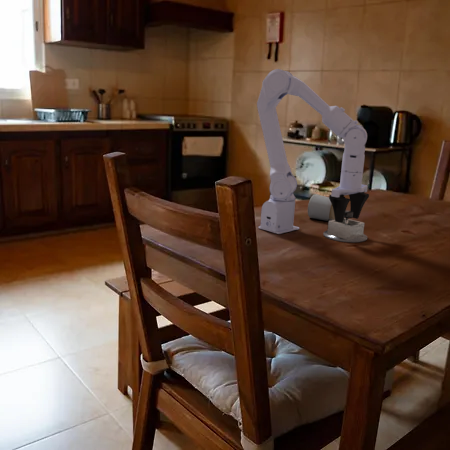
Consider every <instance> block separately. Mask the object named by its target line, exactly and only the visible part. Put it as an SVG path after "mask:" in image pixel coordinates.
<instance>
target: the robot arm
mask: <svg viewBox="0 0 450 450" xmlns="http://www.w3.org/2000/svg"><path fill="white" fill-rule="evenodd" d="M261 84H262V85H261V89H260V92H259V96H258V97H257V98H258V99H257V102H256V108H257V112H258V117H259V122H260V126H261V129H262V135H263V140H264V144H265V148H266V153H267V157H268V158H267V159H268V163H269V166H270V167H269V168H270V170H269V178H270V184H269V193H270V195H269V199H268V200H266V201H265V202H264V203H263V204H262V206H261V212H260V213H261V215H260V225H259V226H258V229H260V230H264V231H266V232H270V233H274V234H276V235H277V234H278V235H281V234H284V233H288V232H293V231H297V230H300V227H299V226H295V225H294V224H295V223H294V219H295V209H296V208H295V207H296V196H295V195H294V192H295V191H296V190H297V188H298V181H297V179H296V177H295V176H294V175H293V173H292V169H291V166H290V165H289V162H288V158H287V157H288V156H287V154H286V149H285V144H284V139H283V135H282V132H281V131H282V129H281V125H280V122H279V116H278V113H277V107H278V106H279V104H280V102H281V101H282V100H283V98H284V97H285V96H287V95H291V96H295V97H298V98H301V100H302V101H304V102H305V103H306V104H307V105H309V106H310V107H311V108H312V109H314V110H315V111H316V113H318V114H320V116H321V121H322V124H323V125H325V126H326V127H327V129H329V130H330V131H331V132H333V133H334V135H336V137H338V138H340V139H341V138H342V139H343V143H344V149H343V150H344V151H343V154H342V159H341V161H342V162H341V170H340V171H341V172H340V178H339V179H340V180H339V181H340V182H339V186H337V187H335V188H331V194H329V196H328V197H329V199H330V201H331V204H332V206H333V210H334V216H335V221H336V222H340V223H342V222H343V220H344V216H345V211H346V210H347V208H348V206H349V204H350V209H349V211H353V218H352V219H354V220H355V219H357V220H358V219H359V217H360V215H361V212H362V209H363V207H364V205H365V203H366V202H367V200H368V199H369V197H370V193H368V187H369V186H368V185H366V184H362V183H363V176H364V165H365V156H366V155H365V151H366V143H367V140H368V133H367V130H366V129H365V128H364V126H363V125H360V124H359V121H358V120H357V119H355V120H354V119H353V118H352V117H351V116H350V115H348V114H347V113H346V112H345V111H346V109H345V108H344V107H342V106H340V107H339V106H338V105H329V104H328V103H327V102H326V101H325V100H324V99H322V97H321V96H320V95H318V94H317V92H315V91H314V90H313V88H311V87H310V86H309V85H308V84H307V83H305V81H303V80H301V79H300V78H298V77H297V76H294V75H293V74H292V72H290V71H288V70H283V69H281V68H275V69H273V70H271V71H269V73H267V75H265V78H264V79H263V80H262V83H261ZM346 196H349V198H347V197H346Z"/></svg>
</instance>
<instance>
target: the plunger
mask: <svg viewBox="0 0 450 450" xmlns="http://www.w3.org/2000/svg"><path fill="white" fill-rule="evenodd" d="M344 218H345V224H346V225H348V220H349V219H354V218H353V211H350V210H347V209H346V211H345V216H344Z"/></svg>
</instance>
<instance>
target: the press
mask: <svg viewBox="0 0 450 450" xmlns="http://www.w3.org/2000/svg"><path fill="white" fill-rule="evenodd" d="M364 231H365V222H363V221H358V220H355V219H352V218H349V220H348V225H346V224H345V218H344V220H343V222H342V223H340V222H336V221H335V220H334V219H328V221H327V230H324V231H323V236H324V237H325V238H327V239H329V240H332V241H336V242H339V243H340V242H342V243H352V244H354V243H363V242H366V241H367V240H368V236H367V235H366V234H365V233H364Z"/></svg>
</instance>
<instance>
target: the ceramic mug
mask: <svg viewBox="0 0 450 450" xmlns="http://www.w3.org/2000/svg"><path fill="white" fill-rule="evenodd" d="M308 201H309V202H308V204H307V216H308V217H309V218H310V219H316V220H321V221H326V222H328V219H334V220H335V216H334V210H333V206H332V204H331V201H330V199H329V196H325V195H320V194H317V193H315V194H314V193H313V195H312V196H311V197H310V199H309V200H308Z"/></svg>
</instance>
